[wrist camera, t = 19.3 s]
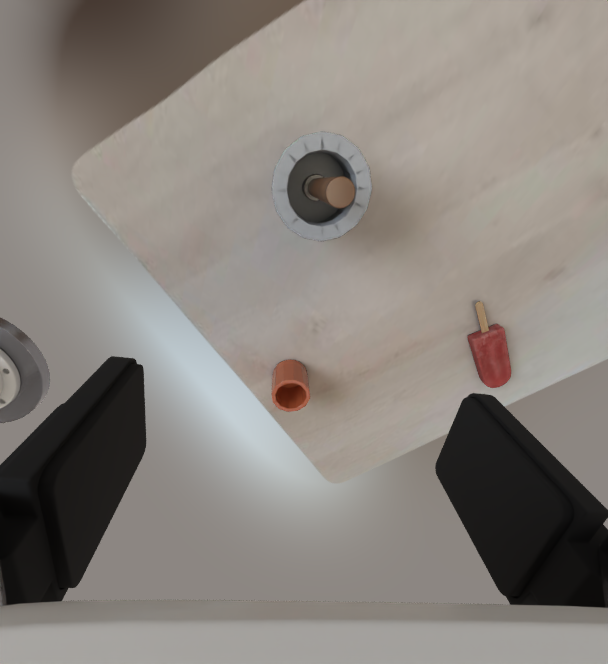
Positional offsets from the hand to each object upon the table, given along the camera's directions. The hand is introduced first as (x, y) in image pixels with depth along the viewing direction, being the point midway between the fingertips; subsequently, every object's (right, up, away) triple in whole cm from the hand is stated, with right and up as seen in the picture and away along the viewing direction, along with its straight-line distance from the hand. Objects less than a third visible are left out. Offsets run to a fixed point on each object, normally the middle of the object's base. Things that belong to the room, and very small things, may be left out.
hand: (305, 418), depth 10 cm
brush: (+1, +19, +28) cm, 34 cm away
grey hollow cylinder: (+1, +19, +29) cm, 35 cm away
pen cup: (-2, -4, +39) cm, 40 cm away
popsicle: (+27, +1, +39) cm, 47 cm away
